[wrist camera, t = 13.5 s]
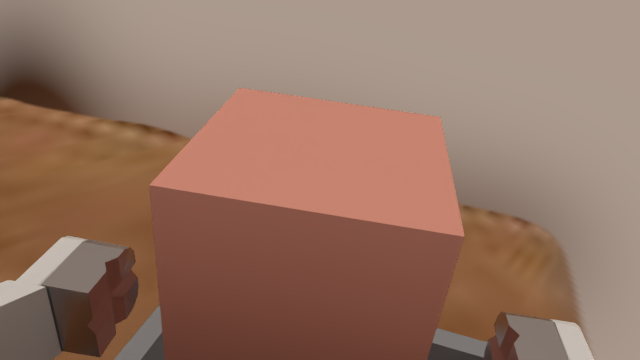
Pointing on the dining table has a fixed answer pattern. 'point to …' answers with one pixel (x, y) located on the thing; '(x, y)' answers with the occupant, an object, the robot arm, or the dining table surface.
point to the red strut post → (305, 233)
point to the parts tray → (445, 356)
